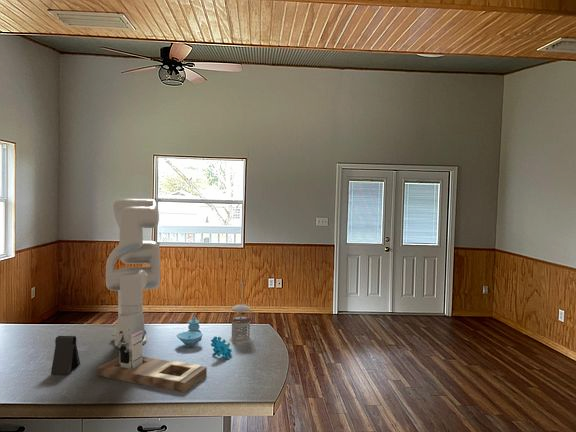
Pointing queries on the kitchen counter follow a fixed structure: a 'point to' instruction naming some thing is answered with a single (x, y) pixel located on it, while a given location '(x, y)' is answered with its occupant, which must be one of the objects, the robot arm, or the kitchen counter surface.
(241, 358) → the kitchen counter surface
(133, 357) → the syrup box
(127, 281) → the robot arm
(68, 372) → the phone stand
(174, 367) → the tray
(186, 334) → the light blue rounded piece
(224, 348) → the gear
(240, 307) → the french press
